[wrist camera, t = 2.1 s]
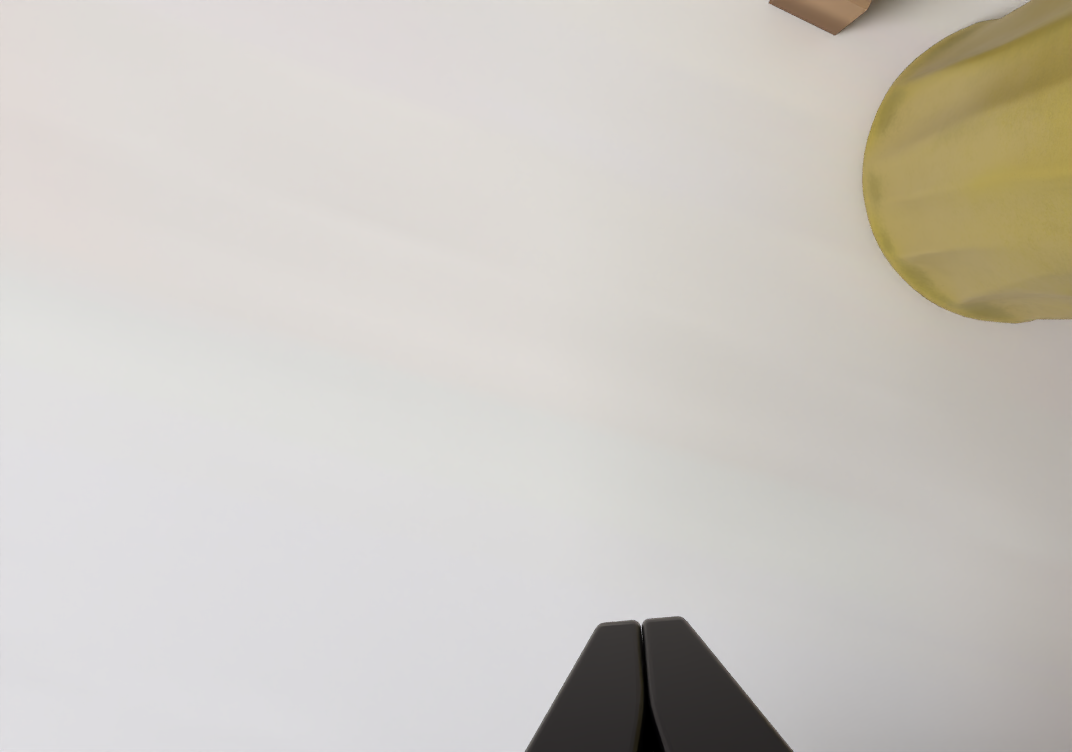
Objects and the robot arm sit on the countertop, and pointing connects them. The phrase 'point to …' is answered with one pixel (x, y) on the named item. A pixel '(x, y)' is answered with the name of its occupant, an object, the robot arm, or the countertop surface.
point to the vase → (981, 168)
